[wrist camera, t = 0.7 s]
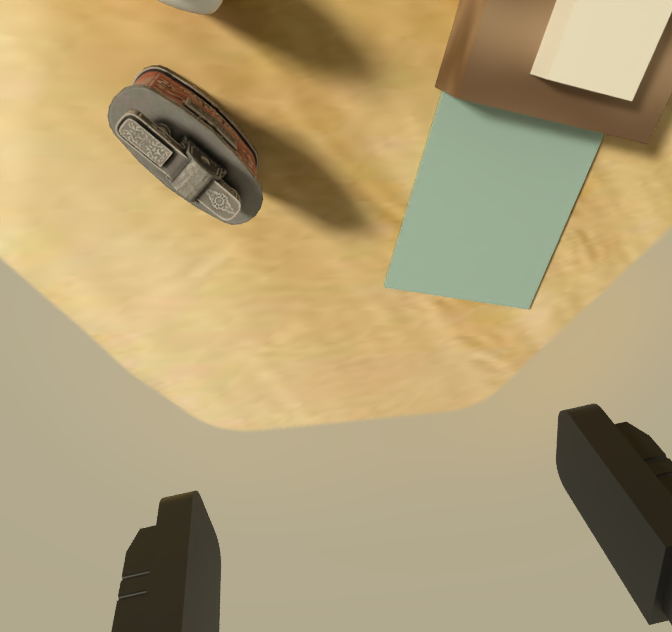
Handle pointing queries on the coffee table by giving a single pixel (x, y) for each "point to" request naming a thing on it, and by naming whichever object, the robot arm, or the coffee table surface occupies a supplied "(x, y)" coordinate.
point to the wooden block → (535, 92)
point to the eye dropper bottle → (195, 5)
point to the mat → (489, 203)
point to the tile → (601, 44)
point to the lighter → (188, 144)
